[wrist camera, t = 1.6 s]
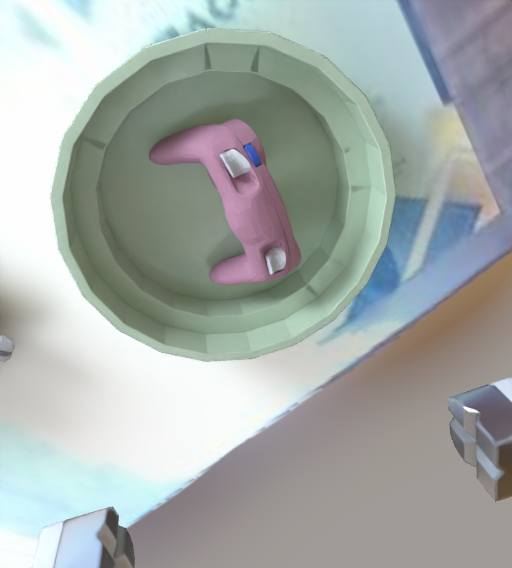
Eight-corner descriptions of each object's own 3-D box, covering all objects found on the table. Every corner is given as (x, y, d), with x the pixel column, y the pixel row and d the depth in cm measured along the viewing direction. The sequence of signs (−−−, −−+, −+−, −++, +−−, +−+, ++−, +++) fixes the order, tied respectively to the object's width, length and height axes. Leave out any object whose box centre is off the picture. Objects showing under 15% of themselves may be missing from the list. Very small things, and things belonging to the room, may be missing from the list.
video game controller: (259, 249, 33) (328, 270, 27) (208, 286, 31) (270, 315, 26) (200, 111, 28) (269, 102, 23) (136, 145, 26) (193, 145, 21)
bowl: (334, -13, 25) (369, -23, 21) (379, 272, 34) (410, 307, 30) (10, 88, 25) (-23, 98, 21) (139, 350, 34) (135, 397, 30)
